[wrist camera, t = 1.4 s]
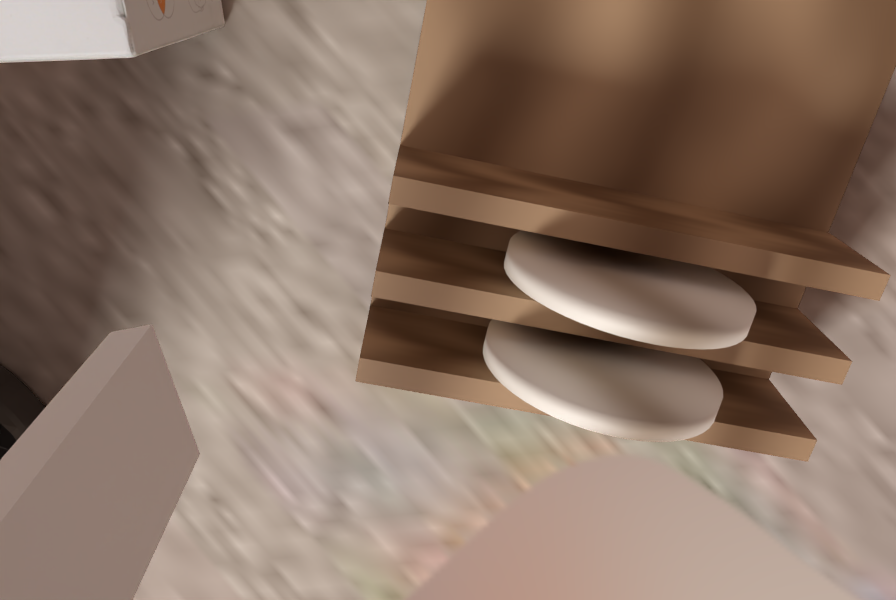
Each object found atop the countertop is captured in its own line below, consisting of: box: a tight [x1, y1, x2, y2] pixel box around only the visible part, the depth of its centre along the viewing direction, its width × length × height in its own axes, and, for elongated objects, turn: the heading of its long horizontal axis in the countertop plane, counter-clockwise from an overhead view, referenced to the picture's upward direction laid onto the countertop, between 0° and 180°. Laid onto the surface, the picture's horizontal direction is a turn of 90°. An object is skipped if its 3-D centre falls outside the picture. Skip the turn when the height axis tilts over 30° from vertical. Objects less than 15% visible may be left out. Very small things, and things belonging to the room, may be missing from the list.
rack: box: [356, 0, 896, 462], centre depth 28 cm, size 18×20×10 cm
